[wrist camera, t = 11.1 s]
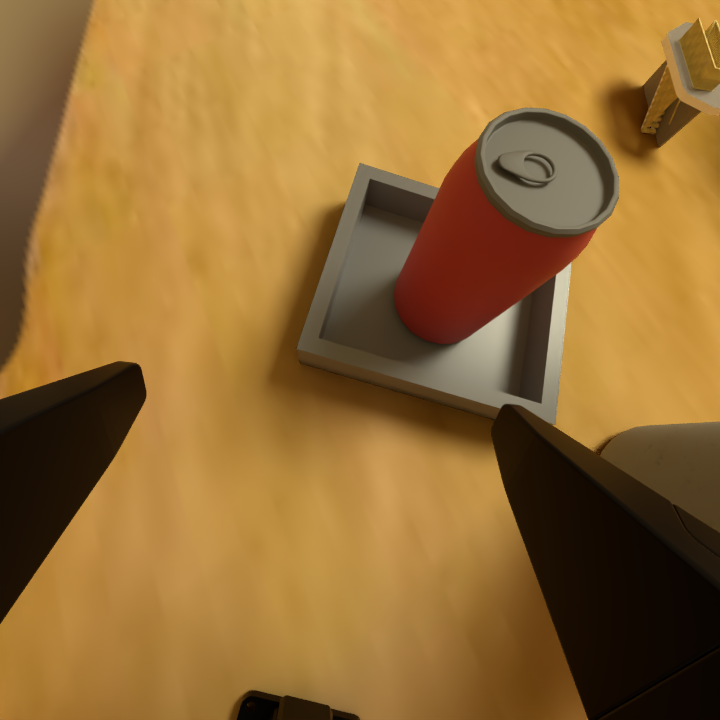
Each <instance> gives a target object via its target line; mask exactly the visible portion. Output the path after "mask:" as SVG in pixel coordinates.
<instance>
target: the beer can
mask: <svg viewBox="0 0 720 720" xmlns="http://www.w3.org/2000/svg"><path fill="white" fill-rule="evenodd" d="M618 199H619V176H618V173H617V170H616V167H615V164H614V161H613V158H612V156H611V155H610V153H609V152H608V150H607V149H606V147H605V146H604V144H603V143H602V141H601V140H600V139H599V138H598V137H596V136H595V135H594V134H593V133H592V132H591V131H590V130H589V129H588V128H587V127H586V126H584V125H582V124H581V123H579V122H577V121H576V120H574V119H572V118H570V117H569V116H567V115H564V114H561V113H558V112H555V111H551V110H548V109H541V108H522V109H517V110H513V111H509V112H505V113H503V114H501V115H500V116H498V117H497V118H495V119H494V120H492V121H491V122H489V123H488V125H487V126H486V128H485V129H484V131H483V132H482V134H481V135H480V137H479V139H478V140H476V141H475V142H474V143H473V144H472V145H471V146H469V147H468V148H467V149H466V150H465V151H464V152H463V153H462V155H461V156H460V157H459V158H458V160H457V161H456V162H455V164H454V165H453V167H452V168H451V169H450V171H449V172H448V174H447V175H446V177H445V178H444V181H443V183H442V185H441V187H440V189H439V191H438V193H437V195H436V198H435V200H434V202H433V204H432V206H431V208H430V210H429V213H428V215H427V217H426V219H425V221H424V223H423V225H422V228H421V230H420V232H419V234H418V236H417V238H416V240H415V242H414V245H413V247H412V249H411V251H410V253H409V255H408V257H407V260H406V262H405V264H404V266H403V268H402V270H401V272H400V275H399V277H398V279H397V282H396V286H395V290H394V299H395V308H396V310H397V312H398V314H399V316H400V318H401V321H402V322H403V323H404V324H405V325H406V326H407V327H408V329H409V330H410V331H411V332H412V333H414V334H416V335H417V336H419V337H420V338H422V339H424V340H426V341H430V342H434V343H438V344H451V343H456V342H459V341H461V340H464V339H467V338H468V337H470V336H471V335H472V334H474V333H475V332H477V331H478V330H479V329H481V328H482V327H484V326H485V325H486V324H488V323H489V322H491V321H492V320H493V319H495V318H496V317H498V316H499V315H500V314H502V313H503V312H505V311H506V310H507V309H509V308H510V307H512V306H513V305H514V304H516V303H517V302H519V301H520V300H521V299H523V298H524V297H526V296H527V295H528V294H530V293H531V292H533V291H534V290H535V289H537V288H538V287H540V286H541V285H542V284H544V283H545V282H547V281H548V280H549V279H551V278H552V277H554V276H555V275H556V274H558V273H559V272H561V271H562V270H563V269H564V268H565V267H566V266H568V265H569V264H570V263H571V262H572V261H573V260H574V259H575V258H576V257H577V256H578V255H579V254H580V253H581V252H582V251H583V249H584V248H585V247H586V246H587V245H588V243H589V241H590V239H591V238H592V236H593V234H594V233H595V231H596V229H597V227H598V226H599V225H601V224H602V223H603V222H604V221H605V220H606V219H607V218H609V217H610V216H611V214H612V212H613V210H614V208H615V205H616V203H617V201H618Z"/></svg>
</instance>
